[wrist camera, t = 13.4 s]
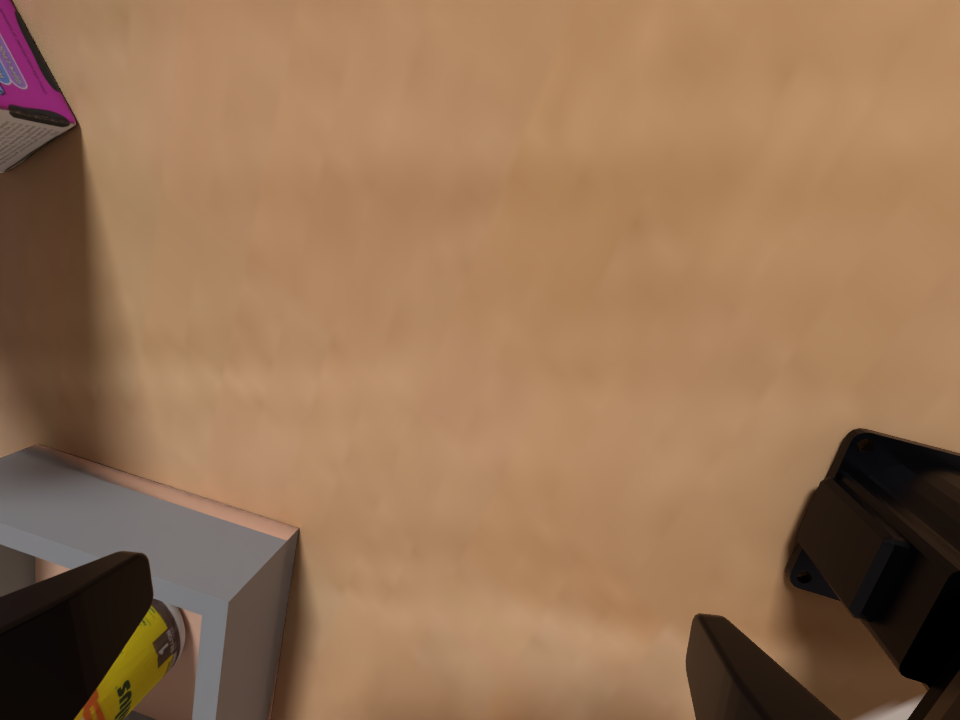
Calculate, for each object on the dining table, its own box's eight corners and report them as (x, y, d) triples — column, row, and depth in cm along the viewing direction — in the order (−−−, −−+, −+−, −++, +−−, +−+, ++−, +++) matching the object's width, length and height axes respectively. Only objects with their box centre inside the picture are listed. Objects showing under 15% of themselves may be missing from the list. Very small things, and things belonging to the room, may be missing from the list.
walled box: (298, 528, 24) (228, 601, 19) (265, 753, 27) (199, 862, 23) (37, 444, 25) (-89, 492, 21) (39, 666, 29) (-68, 751, 24)
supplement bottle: (161, 684, 26) (-87, 952, 16) (76, 615, 26) (-224, 841, 16) (212, 619, 25) (-30, 872, 15) (121, 545, 25) (-181, 749, 15)
